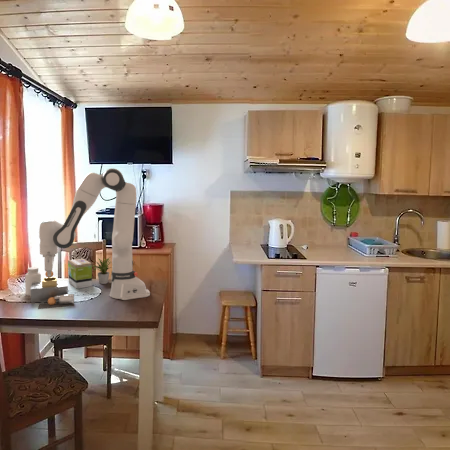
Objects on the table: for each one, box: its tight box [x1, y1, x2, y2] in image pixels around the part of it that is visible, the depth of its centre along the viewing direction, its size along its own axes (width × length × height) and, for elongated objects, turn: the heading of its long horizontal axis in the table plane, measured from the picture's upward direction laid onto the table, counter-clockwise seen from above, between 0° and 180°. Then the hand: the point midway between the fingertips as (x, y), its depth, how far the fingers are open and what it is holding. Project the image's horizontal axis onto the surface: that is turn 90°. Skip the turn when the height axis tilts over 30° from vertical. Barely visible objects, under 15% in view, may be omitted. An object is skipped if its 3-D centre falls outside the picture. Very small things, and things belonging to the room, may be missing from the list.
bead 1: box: [44, 270, 54, 278], centre depth 217 cm, size 4×4×4 cm
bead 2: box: [47, 297, 57, 305], centre depth 208 cm, size 4×4×4 cm
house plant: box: [89, 257, 112, 285], centre depth 252 cm, size 14×14×16 cm
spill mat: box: [37, 301, 75, 310], centre depth 208 cm, size 17×9×1 cm, turn 111°
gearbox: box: [30, 276, 69, 304], centre depth 218 cm, size 18×12×11 cm, turn 111°
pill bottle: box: [24, 266, 42, 297], centre depth 225 cm, size 8×8×15 cm
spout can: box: [55, 293, 75, 305], centre depth 209 cm, size 9×5×5 cm, turn 111°
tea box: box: [67, 258, 93, 290], centre depth 246 cm, size 15×10×15 cm, turn 39°
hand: (49, 275), depth 217 cm, fingers closed on bead 1, 4 cm apart
